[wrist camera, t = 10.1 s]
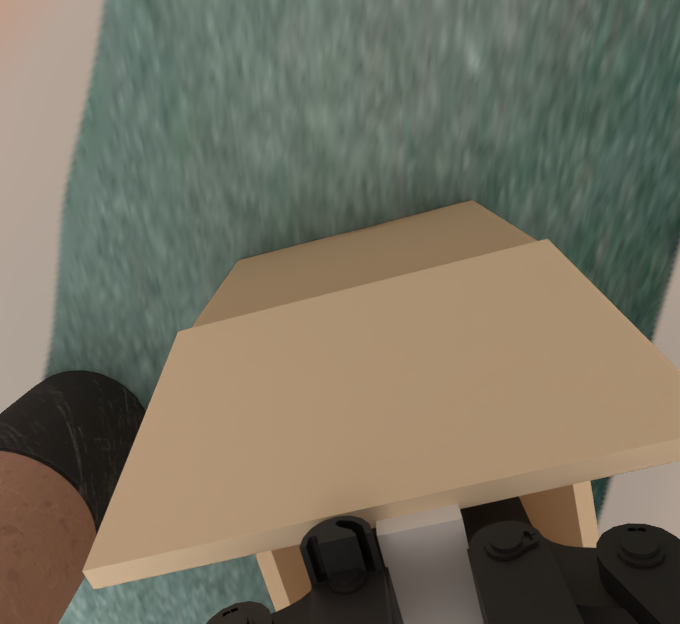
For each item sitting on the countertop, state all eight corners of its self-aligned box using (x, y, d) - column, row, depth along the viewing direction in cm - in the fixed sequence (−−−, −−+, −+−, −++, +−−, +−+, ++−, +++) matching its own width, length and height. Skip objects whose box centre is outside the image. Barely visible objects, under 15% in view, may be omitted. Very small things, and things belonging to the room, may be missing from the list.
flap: (183, 344, 19) (178, 331, 19) (549, 253, 18) (547, 238, 18) (94, 589, 11) (82, 570, 11) (733, 448, 10) (734, 426, 10)
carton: (531, 505, 35) (623, 692, 24) (330, 549, 36) (326, 749, 25) (472, 199, 30) (554, 251, 18) (238, 260, 31) (179, 345, 19)
